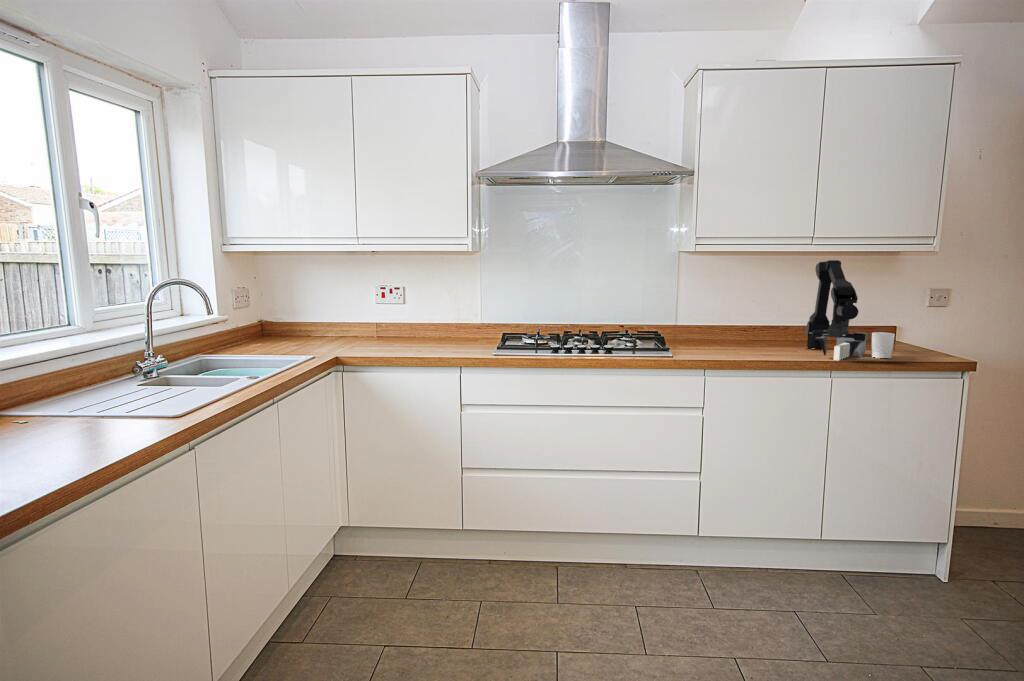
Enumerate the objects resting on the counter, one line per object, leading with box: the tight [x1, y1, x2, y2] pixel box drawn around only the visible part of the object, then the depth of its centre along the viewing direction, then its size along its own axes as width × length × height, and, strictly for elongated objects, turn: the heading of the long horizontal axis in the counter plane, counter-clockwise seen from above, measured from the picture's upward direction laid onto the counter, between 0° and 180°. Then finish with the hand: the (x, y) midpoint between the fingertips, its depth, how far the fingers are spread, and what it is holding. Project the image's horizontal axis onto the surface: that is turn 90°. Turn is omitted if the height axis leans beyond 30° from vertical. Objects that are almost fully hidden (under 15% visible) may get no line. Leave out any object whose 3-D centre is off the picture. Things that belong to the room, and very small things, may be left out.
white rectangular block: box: [832, 343, 850, 362], centre depth 233 cm, size 15×2×6 cm, turn 137°
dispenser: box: [836, 335, 867, 358], centre depth 243 cm, size 8×9×9 cm
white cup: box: [870, 331, 896, 359], centre depth 236 cm, size 8×8×10 cm
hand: (837, 356), depth 229 cm, fingers open, 9 cm apart
